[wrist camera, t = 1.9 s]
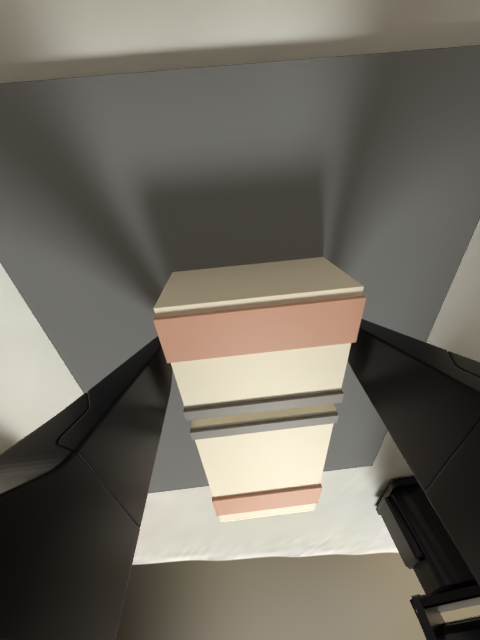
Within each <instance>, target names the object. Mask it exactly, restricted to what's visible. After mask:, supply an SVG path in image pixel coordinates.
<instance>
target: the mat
mask: <svg viewBox="0 0 480 640" xmlns="http://www.w3.org/2000/svg"><path fill="white" fill-rule="evenodd" d="M479 219H480V45H477V46H464V47H452V48H439V49H427V50H414V51H402V52H389V53H377V54H364V55H352V56H339V57H327V58H314V59H302V60H289V61H277V62H264V63H252V64H239V65H227V66H214V67H202V68H189V69H176V70H164V71H151V72H139V73H126V74H114V75H101V76H89V77H76V78H64V79H51V80H39V81H26V82H14V83H1V84H0V263H1V264H2V266H3V268H4V269H5V271H6V272H7V274H8V275H9V277H10V278H11V280H12V282H13V283H14V285H15V286H16V288H17V289H18V291H19V293H20V294H21V296H22V297H23V299H24V300H25V302H26V304H27V305H28V307H29V308H30V310H31V311H32V313H33V314H34V316H35V318H36V319H37V321H38V322H39V324H40V325H41V327H42V329H43V330H44V332H45V333H46V335H47V336H48V338H49V339H50V341H51V343H52V344H53V346H54V347H55V349H56V350H57V352H58V354H59V355H60V357H61V358H62V360H63V361H64V363H65V365H66V366H67V368H68V369H69V371H70V372H71V374H72V375H73V377H74V379H75V380H76V382H77V383H78V385H79V386H80V388H81V390H82V391H83V393H87V391H88V390H90V389H91V388H92V387H93V386H95V385H96V384H97V383H98V382H100V381H101V380H102V379H104V378H105V377H106V376H107V375H109V374H110V373H111V372H112V371H114V370H115V369H116V368H117V367H119V366H120V365H121V364H123V363H124V362H125V361H126V360H128V359H129V358H130V357H131V356H133V355H134V354H135V353H137V352H138V351H139V350H140V349H142V348H143V347H144V346H145V345H147V344H148V343H149V342H150V341H152V340H153V339H154V338H155V337H157V336H158V334H157V331H156V327H155V324H154V321H153V320H154V318H155V317H156V315H155V312H154V309H153V308H154V306H155V304H156V302H157V301H158V299H159V297H160V295H161V293H162V291H163V289H164V287H165V285H166V283H167V282H168V280H169V278H170V276H171V274H172V272H179V271H189V270H199V269H209V268H218V267H228V266H238V265H248V264H258V263H268V262H278V261H288V260H297V259H307V258H317V257H324V258H326V259H327V260H328V261H330V262H331V263H332V264H334V265H335V266H337V267H338V268H339V269H341V270H342V271H344V272H345V273H346V274H348V275H349V276H350V277H352V278H353V279H355V280H356V281H357V282H359V283H360V284H362V285H363V286H364V289H363V293H362V295H363V296H365V297H366V302H365V306H364V310H363V314H362V319H364V320H367V321H369V322H372V323H375V324H378V325H380V326H383V327H386V328H388V329H391V330H394V331H396V332H399V333H402V334H404V335H407V336H410V337H412V338H415V339H418V340H420V341H423V342H426V341H427V338H428V336H429V334H430V332H431V329H432V327H433V325H434V322H435V320H436V318H437V316H438V313H439V311H440V309H441V306H442V304H443V302H444V299H445V297H446V295H447V293H448V290H449V288H450V286H451V283H452V281H453V279H454V276H455V274H456V272H457V270H458V267H459V265H460V263H461V260H462V258H463V256H464V253H465V251H466V249H467V247H468V244H469V242H470V240H471V237H472V235H473V233H474V230H475V228H476V226H477V224H478V221H479ZM341 390H342V391H343V393H344V395H343V400H342V403H334V406H335V408H336V411H337V413H338V415H339V417H338V421H337V423H334V424H333V428H332V433H331V437H330V442H329V446H328V451H327V455H326V460H325V464H324V469H323V472H324V471H332V470H340V469H348V468H356V467H364V466H372V465H373V463H374V460H375V458H376V456H377V453H378V451H379V449H380V447H381V444H382V442H383V440H384V437H385V435H386V433H387V428H386V426H385V425H384V423H383V421H382V420H381V418H380V416H379V415H378V413H377V411H376V409H375V408H374V406H373V404H372V403H371V401H370V399H369V398H368V396H367V394H366V393H365V391H364V389H363V388H362V386H361V384H360V382H359V381H358V379H357V377H356V376H355V374H354V372H353V370H352V369H351V367H350V365H349V362H348V361H347V365H346V370H345V374H344V379H343V383H342V388H341ZM184 408H185V407H184V404H183V401H182V397H181V394H180V391H179V388H178V385H177V382H176V378H175V375H174V372H173V373H172V384H171V391H170V396H169V401H168V405H167V410H166V414H165V419H164V423H163V427H162V432H161V436H160V441H159V445H158V450H157V454H156V459H155V463H154V468H153V472H152V477H151V481H150V486H149V490H148V493H155V492H163V491H171V490H179V489H187V488H195V487H203V486H209V483H208V480H207V477H206V473H205V470H204V467H203V464H202V461H201V458H200V454H199V451H198V448H197V445H196V442H195V440H192V438H191V435H190V429H191V422H192V420H189V421H186V419H185V416H184V413H183V411H184Z"/></svg>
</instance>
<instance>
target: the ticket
mask: <svg viewBox="0 0 480 640" xmlns="http://www.w3.org/2000/svg"><path fill="white" fill-rule="evenodd" d="M338 417H339V415H338V413H337V411H336V408H335V406H334V404H325V405H317V406H308V407H300V408H291V409H282V410H274V411H265V412H257V413H248V414H240V415H231V416H223V417H214V418H206V419H197V420H192V422H191V429H190V435H191V438H192V440H195V442H196V445H197V448H198V451H199V454H200V458H201V461H202V464H203V467H204V470H205V473H206V477H207V480H208V483H209V486H210V489H211V492H212V496H213V497H212V502H213V505H214V508H215V511H216V514H217V516H219V518H220V521H221V522H228V521H236V520H244V519H252V518H260V517H267V516H275V515H283V514H291V513H298V512H306V511H314V509H315V505H316V503H318V502H319V498H320V494H321V489H322V486H321V484H320V482H321V478H322V473H323V469H324V464H325V460H326V455H327V451H328V446H329V442H330V437H331V433H332V428H333V424H334V423H337V421H338Z"/></svg>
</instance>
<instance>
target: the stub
mask: <svg viewBox="0 0 480 640" xmlns="http://www.w3.org/2000/svg"><path fill="white" fill-rule="evenodd" d="M363 289H364V286H363V285H362V284H360V283H359V282H357V281H356V280H355V279H353V278H352V277H350V276H349V275H348V274H346V273H345V272H344V271H342V270H341V269H339V268H338V267H337V266H335V265H334V264H332V263H331V262H330V261H328V260H327V259H326V258H324V257H317V258H307V259H297V260H288V261H278V262H268V263H258V264H248V265H238V266H228V267H218V268H209V269H199V270H189V271H179V272H172V274H171V276H170V278H169V280H168V282H167V283H166V285H165V287H164V289H163V291H162V293H161V295H160V297H159V299H158V301H157V302H156V304H155V306H154V308H153V309H154V312H155V315H156V317H155V318H154V320H153V321H154V324H155V327H156V331H157V334H158V337H159V340H160V343H161V346H162V349H163V352H164V355H165V358H166V361H167V363H171V366H172V369H173V372H174V375H175V378H176V382H177V385H178V388H179V391H180V394H181V397H182V401H183V404H184V407H185V408H184V411H183V413H184V416H185V419H186V421H189V420H197V419H206V418H214V417H223V416H231V415H240V414H248V413H257V412H265V411H274V410H282V409H291V408H300V407H308V406H317V405H325V404H334V403H342V400H343V395H344V393H343V391H342V390H341V388H342V383H343V379H344V374H345V370H346V365H347V361H348V356H349V352H350V347H351V343H355V342H356V340H357V336H358V332H359V327H360V323H361V319H362V314H363V310H364V306H365V302H366V297H365V296H363V295H362V293H363Z"/></svg>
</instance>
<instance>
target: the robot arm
mask: <svg viewBox="0 0 480 640" xmlns="http://www.w3.org/2000/svg"><path fill="white" fill-rule="evenodd" d="M348 362H349V365H350V367H351V369H352V370H353V372H354V374H355V376H356V377H357V379H358V381H359V382H360V384H361V386H362V388H363V389H364V391H365V393H366V394H367V396H368V398H369V399H370V401H371V403H372V404H373V406H374V408H375V409H376V411H377V413H378V415H379V416H380V418H381V420H382V421H383V423H384V425H385V426H386V428H387V430H388V431H389V433H390V435H391V437H392V438H393V440H394V442H395V443H396V445H397V447H398V448H399V450H400V452H401V453H402V455H403V457H404V458H405V460H406V462H407V464H408V465H409V467H410V469H411V470H412V472H413V474H414V475H415V477H416V478H410V479H403V480H396V481H393V482H391V483H390V485H389V486H388V488H387V490H386V492H385V493H384V495H383V497H382V499H381V501H380V502H379V504H378V506H377V508H376V511H377V513H378V514H379V515H381V516H382V518H383V520H384V522H385V524H386V527H387V529H388V531H389V533H390V535H391V537H392V539H393V541H394V543H395V545H396V547H397V549H398V551H399V553H400V555H401V558H402V559H403V562H404V564H405V565H406V566H407V567H408V568H409V569H414V571H415V573H416V576H417V578H418V579H419V582H420V584H421V586H422V588H423V590H424V591H425V594H426V595H422V596H421V595H419V594H417V595H413V596H412V599H411V600H410V602H411V604H412V607H413V609H414V611H415V613H416V615H417V618H418V619H419V622H420V624H421V626H422V629H423V632H424V634H425V637H426V639H427V640H480V615H479V616H474V617H469V618H464V619H459V620H454V621H449V622H445V621H444V620H443V618H442V616H441V614H440V613H442V612H446V611H450V610H456V609H461V608H465V607H470V606H475V605H479V604H480V362H477V361H474V360H472V359H469V358H466V357H463V356H461V355H458V354H455V353H453V352H450V351H449V352H447V350H444V349H442V348H439V347H436V346H434V345H431V344H428V343H426V342H423V341H420V340H418V339H415V338H412V337H410V336H407V335H404V334H402V333H399V332H396V331H394V330H391V329H388V328H386V327H383V326H380V325H378V324H375V323H372V322H369V321H367V320H364V319H361V323H360V327H359V332H358V336H357V340H356V342H355V343H351V347H350V352H349V356H348ZM172 373H173V369H172V366H171V363H167V361H166V358H165V355H164V352H163V349H162V346H161V343H160V340H159V337H158V336H157V337H155V338H154V339H153V340H152V341H150V342H149V343H148V344H147V345H145V346H144V347H143V348H142V349H140V350H139V351H138V352H137V353H135V354H134V355H133V356H131V357H130V358H129V359H128V360H126V361H125V362H124V363H123V364H121V365H120V366H119V367H117V368H116V369H115V370H114V371H112V372H111V373H110V374H109V375H107V376H106V377H105V378H104V379H102V380H101V381H100V382H98V383H97V384H96V385H95V386H93V387H92V388H91V389H90V390H88V391H87V393H84V394H83V395H82V396H81V397H79V398H78V399H77V400H76V401H74V402H73V403H72V404H70V405H69V406H68V407H66V408H65V409H64V410H63V411H61V412H60V413H59V414H57V415H56V416H54V417H53V418H52V419H50V420H49V421H47V422H46V423H45V424H43V425H42V426H40V427H39V428H37V429H36V430H35V431H33V432H32V433H30V434H29V435H27V436H26V437H25V438H23V439H22V440H20V441H19V442H17V443H16V444H15V445H13V446H12V447H10V448H9V449H7V450H6V451H5V452H3V453H2V454H0V640H115V638H116V634H117V629H118V625H119V620H120V616H121V611H122V607H123V602H124V598H125V593H126V589H127V584H128V580H129V575H130V571H131V566H132V562H133V558H134V553H135V549H136V544H137V540H138V535H139V531H140V529H139V528H140V526H141V521H142V517H143V512H144V508H145V503H146V499H147V494H148V490H149V486H150V481H151V477H152V472H153V468H154V463H155V459H156V454H157V450H158V445H159V441H160V436H161V432H162V427H163V423H164V419H165V414H166V410H167V405H168V401H169V396H170V391H171V384H172Z"/></svg>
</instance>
